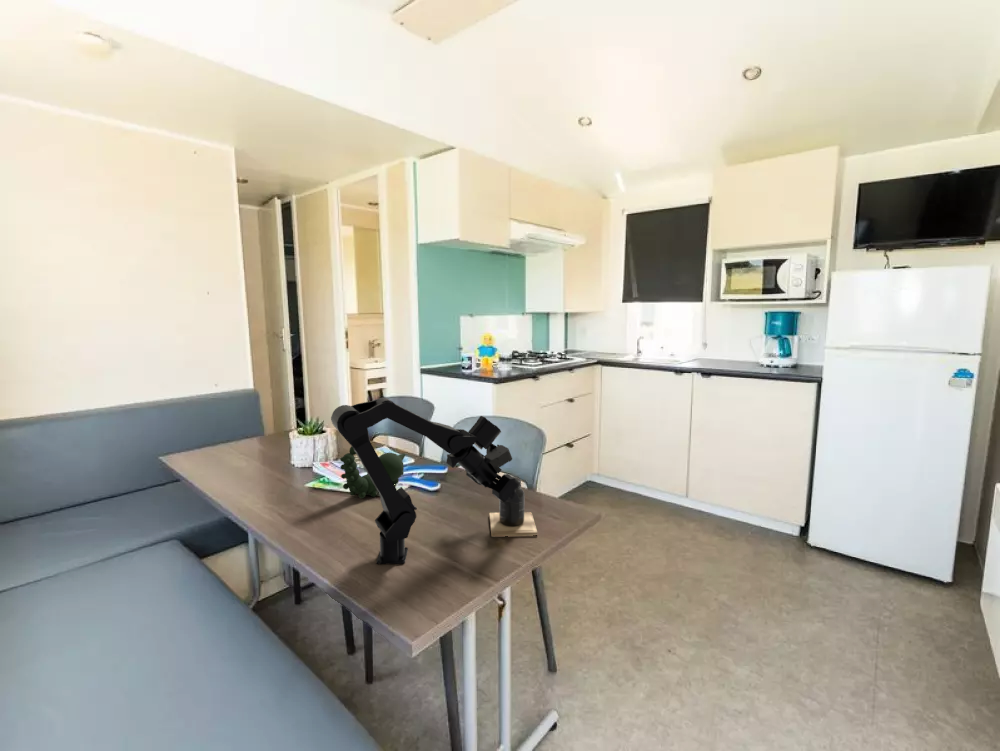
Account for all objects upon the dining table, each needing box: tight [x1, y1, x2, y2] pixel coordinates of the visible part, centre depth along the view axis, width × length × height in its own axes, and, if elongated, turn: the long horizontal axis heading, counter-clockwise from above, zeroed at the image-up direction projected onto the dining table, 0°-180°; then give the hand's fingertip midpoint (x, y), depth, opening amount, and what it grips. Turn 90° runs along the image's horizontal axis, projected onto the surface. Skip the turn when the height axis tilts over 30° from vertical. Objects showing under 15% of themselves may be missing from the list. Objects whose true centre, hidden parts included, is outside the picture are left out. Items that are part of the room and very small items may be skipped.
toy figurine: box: [339, 445, 406, 499], centre depth 150 cm, size 9×19×25 cm
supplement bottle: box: [498, 476, 525, 527], centre depth 128 cm, size 7×7×12 cm
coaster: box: [489, 511, 538, 538], centre depth 129 cm, size 12×12×1 cm
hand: (509, 495), depth 127 cm, fingers open, 9 cm apart
